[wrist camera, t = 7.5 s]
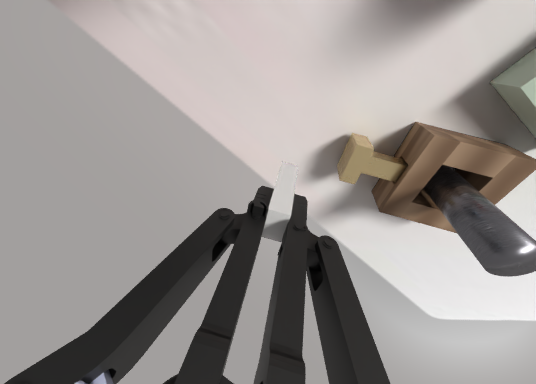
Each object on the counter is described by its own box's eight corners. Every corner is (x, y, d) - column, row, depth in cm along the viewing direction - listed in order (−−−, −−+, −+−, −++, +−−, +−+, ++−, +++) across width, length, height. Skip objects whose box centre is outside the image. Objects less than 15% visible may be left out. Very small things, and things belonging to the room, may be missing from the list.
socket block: (371, 191, 31) (379, 211, 27) (415, 121, 25) (434, 135, 21) (442, 210, 31) (460, 234, 27) (506, 144, 24) (543, 163, 20)
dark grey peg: (408, 171, 28) (473, 259, 16) (436, 152, 26) (534, 237, 14) (424, 187, 29) (498, 281, 17) (453, 170, 27) (560, 264, 15)
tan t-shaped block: (337, 165, 29) (339, 180, 26) (352, 132, 26) (357, 144, 23) (398, 182, 29) (408, 199, 25) (420, 150, 26) (435, 165, 22)
